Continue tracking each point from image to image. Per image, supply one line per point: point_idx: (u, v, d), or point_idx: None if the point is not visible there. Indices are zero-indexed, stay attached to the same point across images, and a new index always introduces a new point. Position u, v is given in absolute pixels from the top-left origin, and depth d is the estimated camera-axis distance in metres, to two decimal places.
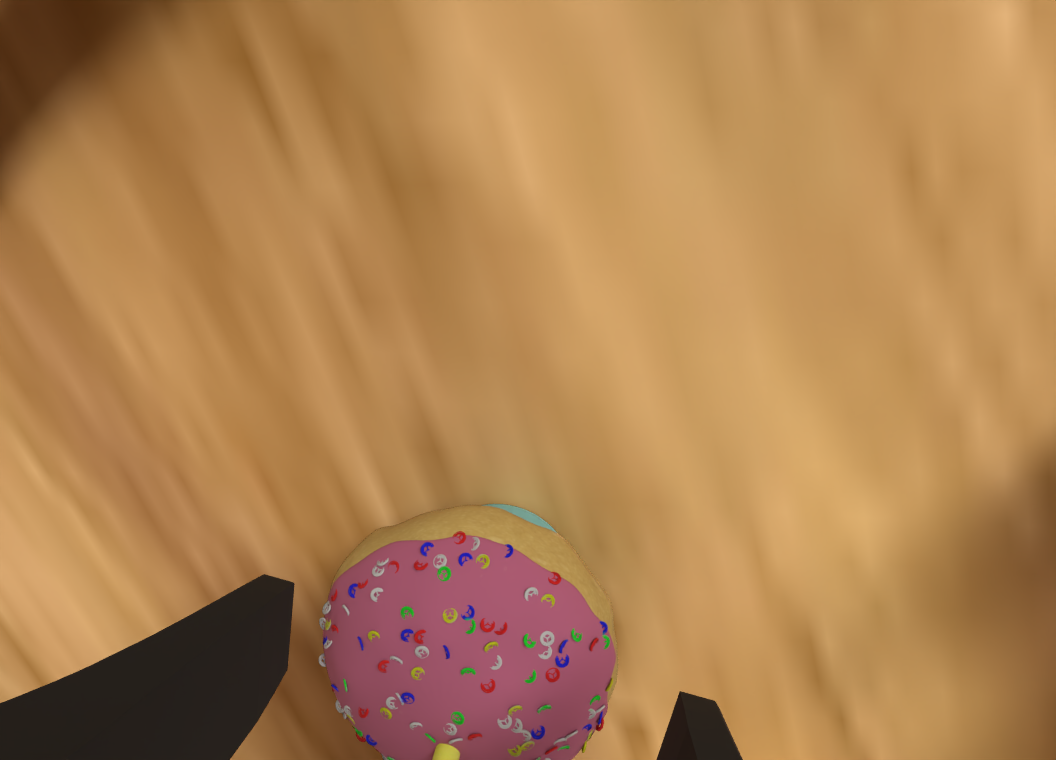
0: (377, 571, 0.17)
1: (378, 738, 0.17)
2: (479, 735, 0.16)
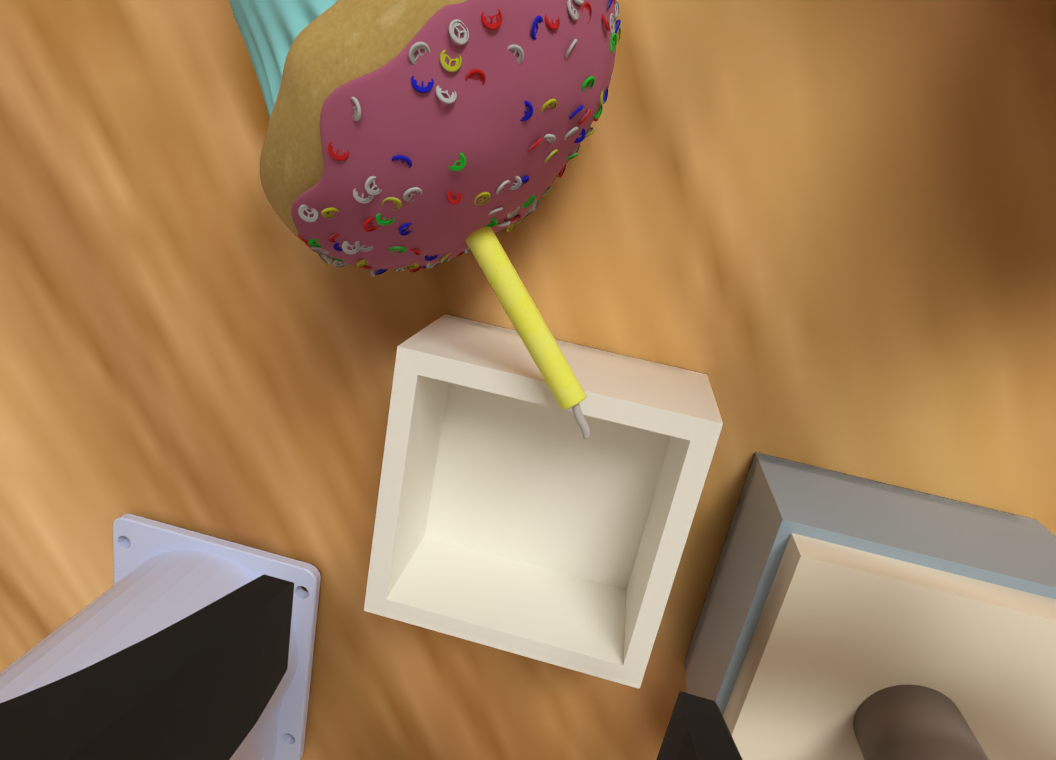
0: (571, 10, 0.11)
1: (426, 226, 0.13)
2: (517, 215, 0.15)
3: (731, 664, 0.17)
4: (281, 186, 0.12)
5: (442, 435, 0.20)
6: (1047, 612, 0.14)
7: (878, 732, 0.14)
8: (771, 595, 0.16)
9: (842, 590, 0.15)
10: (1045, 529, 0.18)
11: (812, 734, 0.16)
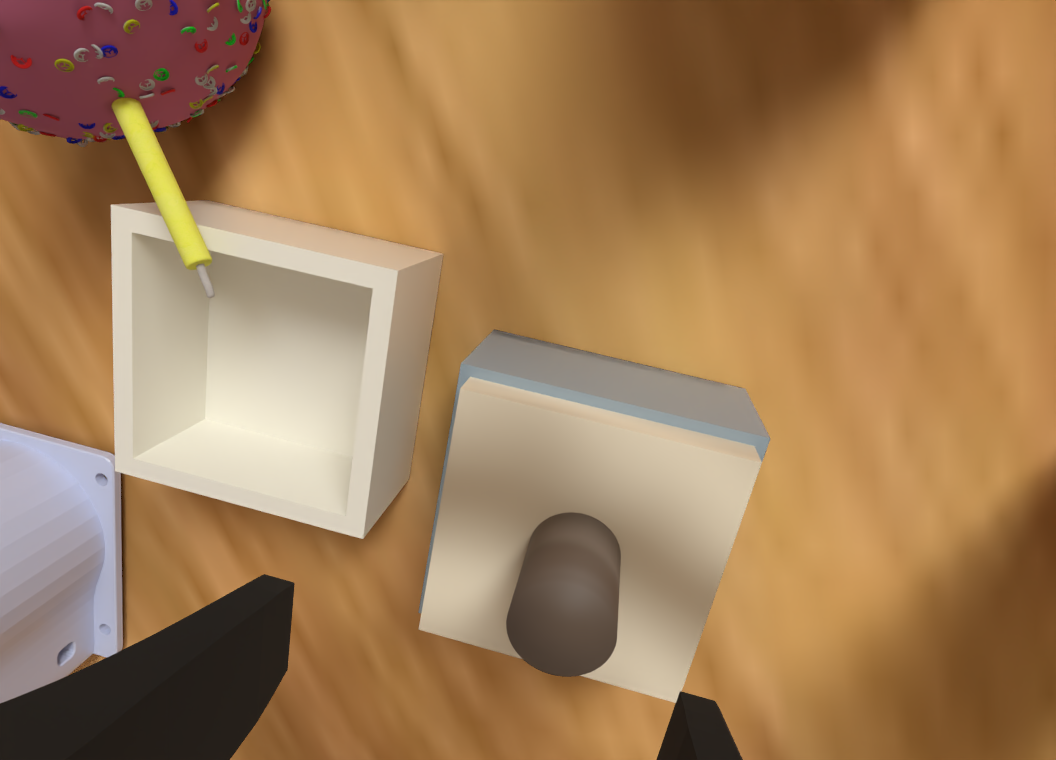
0: None
1: (27, 91, 0.15)
2: (173, 90, 0.16)
3: (438, 510, 0.18)
4: None
5: (210, 317, 0.21)
6: (679, 437, 0.16)
7: (528, 549, 0.16)
8: None
9: (499, 421, 0.16)
10: (745, 394, 0.19)
11: (496, 566, 0.17)
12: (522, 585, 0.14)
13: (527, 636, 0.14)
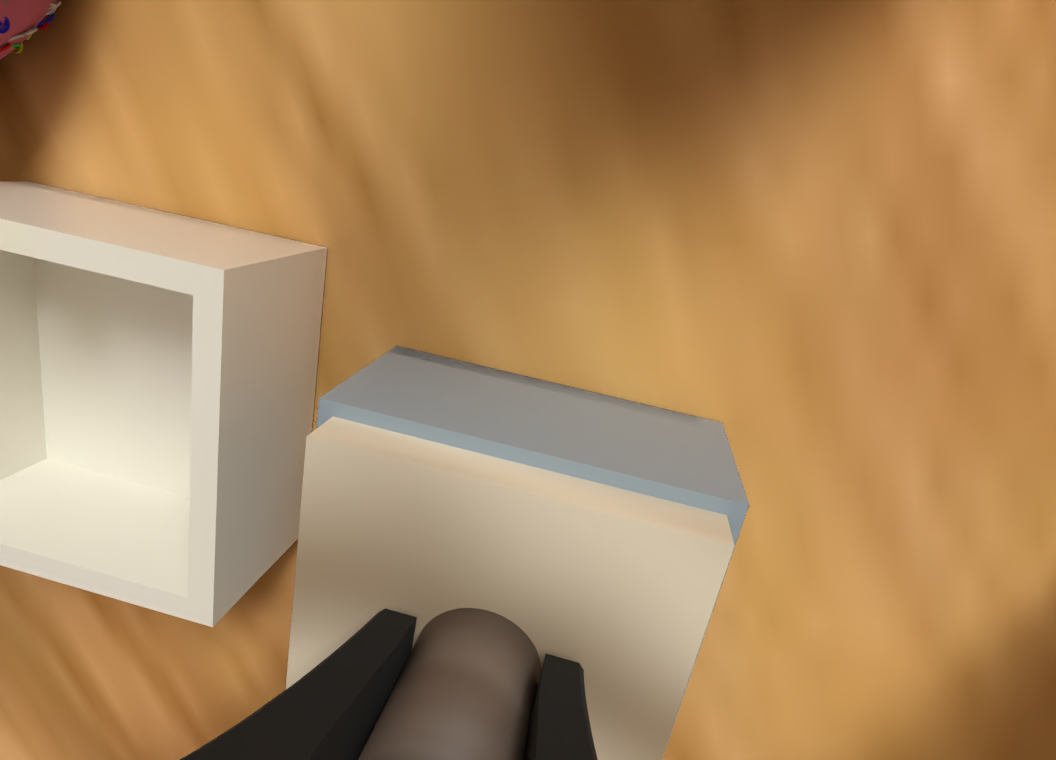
0: None
1: None
2: None
3: None
4: None
5: (40, 331, 0.17)
6: (617, 506, 0.11)
7: (404, 666, 0.11)
8: None
9: (363, 483, 0.11)
10: (721, 430, 0.14)
11: None
12: (370, 741, 0.09)
13: None
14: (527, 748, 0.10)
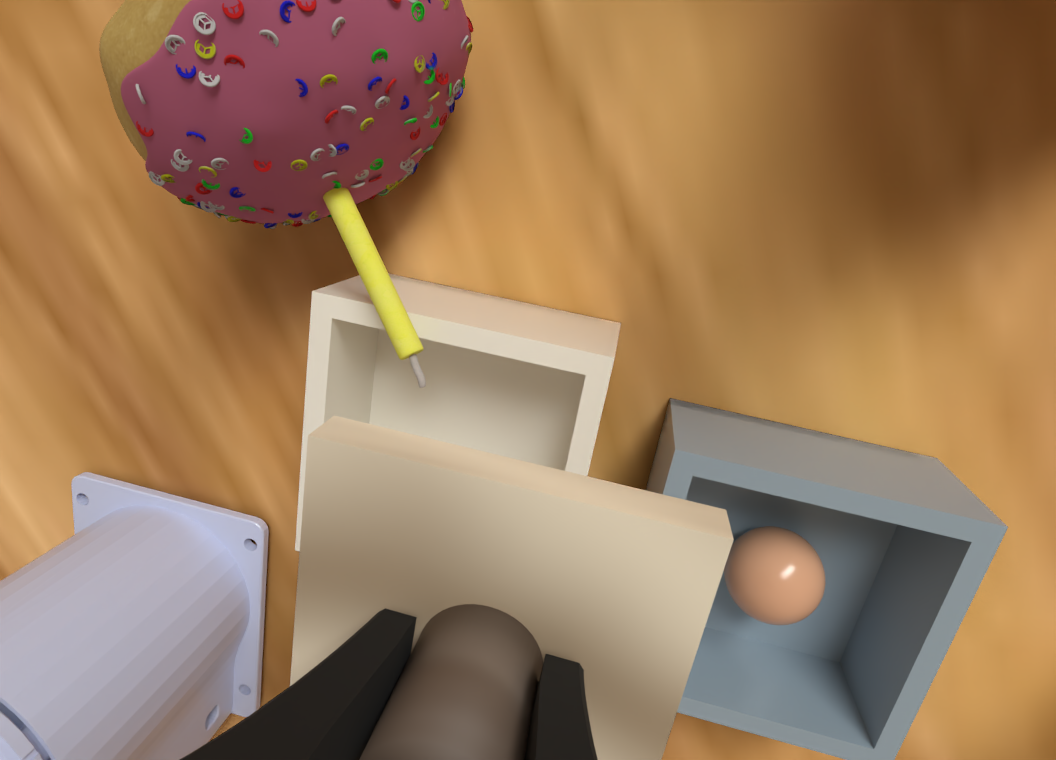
0: None
1: (256, 190, 0.14)
2: (379, 176, 0.16)
3: None
4: (141, 154, 0.14)
5: (374, 387, 0.21)
6: (617, 502, 0.11)
7: (407, 662, 0.11)
8: None
9: (365, 480, 0.11)
10: (942, 465, 0.19)
11: None
12: (374, 736, 0.09)
13: None
14: (527, 748, 0.10)
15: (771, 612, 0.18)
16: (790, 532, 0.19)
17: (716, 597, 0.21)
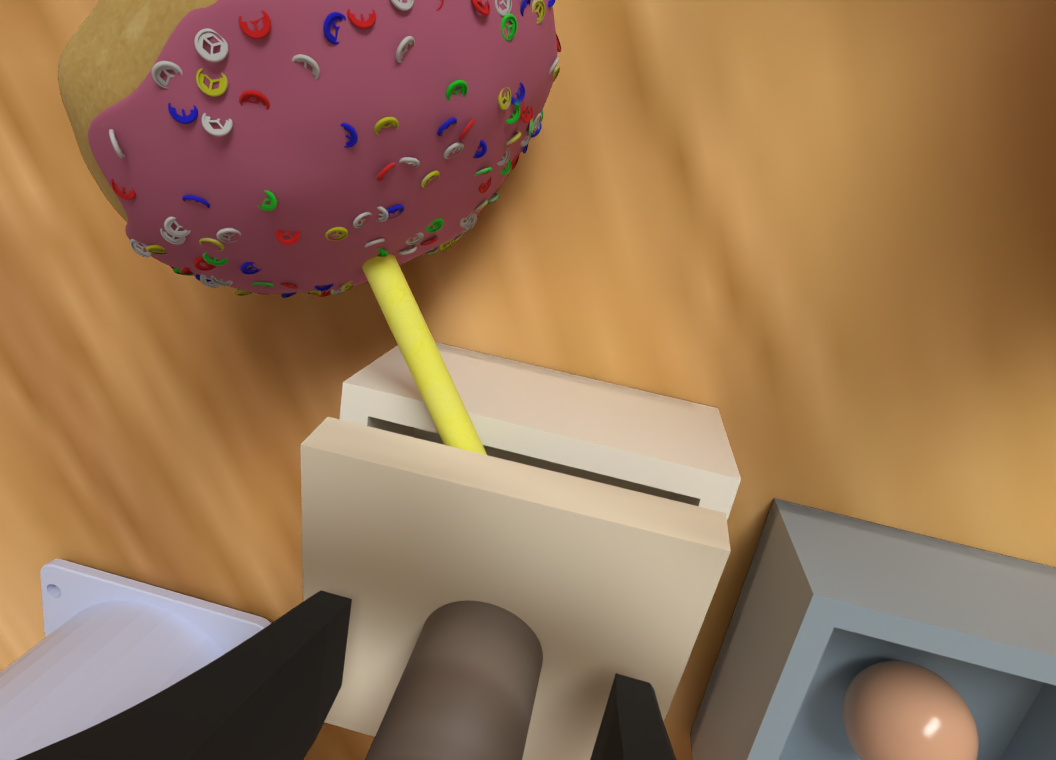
0: None
1: (276, 265, 0.11)
2: (434, 237, 0.12)
3: None
4: None
5: None
6: (613, 510, 0.11)
7: (410, 658, 0.11)
8: None
9: (360, 487, 0.11)
10: None
11: (385, 656, 0.13)
12: (376, 742, 0.10)
13: None
14: None
15: None
16: (931, 674, 0.15)
17: (820, 733, 0.17)
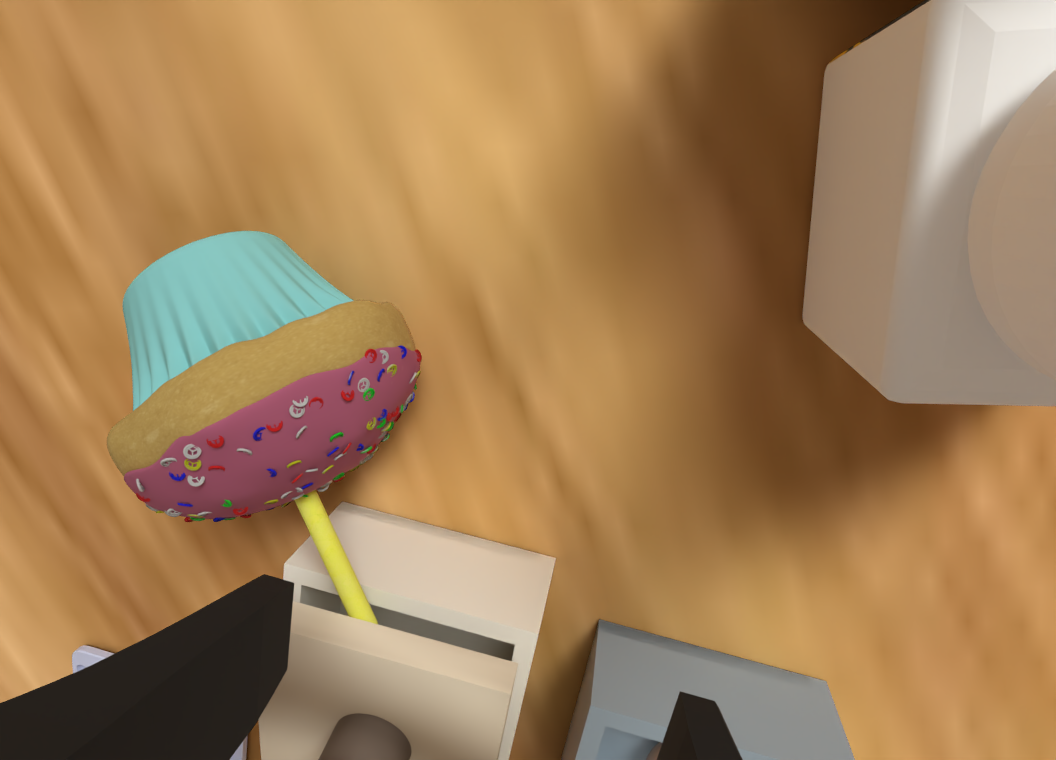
0: (295, 411, 0.15)
1: (235, 515, 0.17)
2: (342, 475, 0.19)
3: None
4: None
5: None
6: (443, 665, 0.17)
7: (322, 752, 0.18)
8: None
9: (289, 647, 0.18)
10: (828, 693, 0.22)
11: (313, 743, 0.20)
12: None
13: None
14: None
15: None
16: None
17: None
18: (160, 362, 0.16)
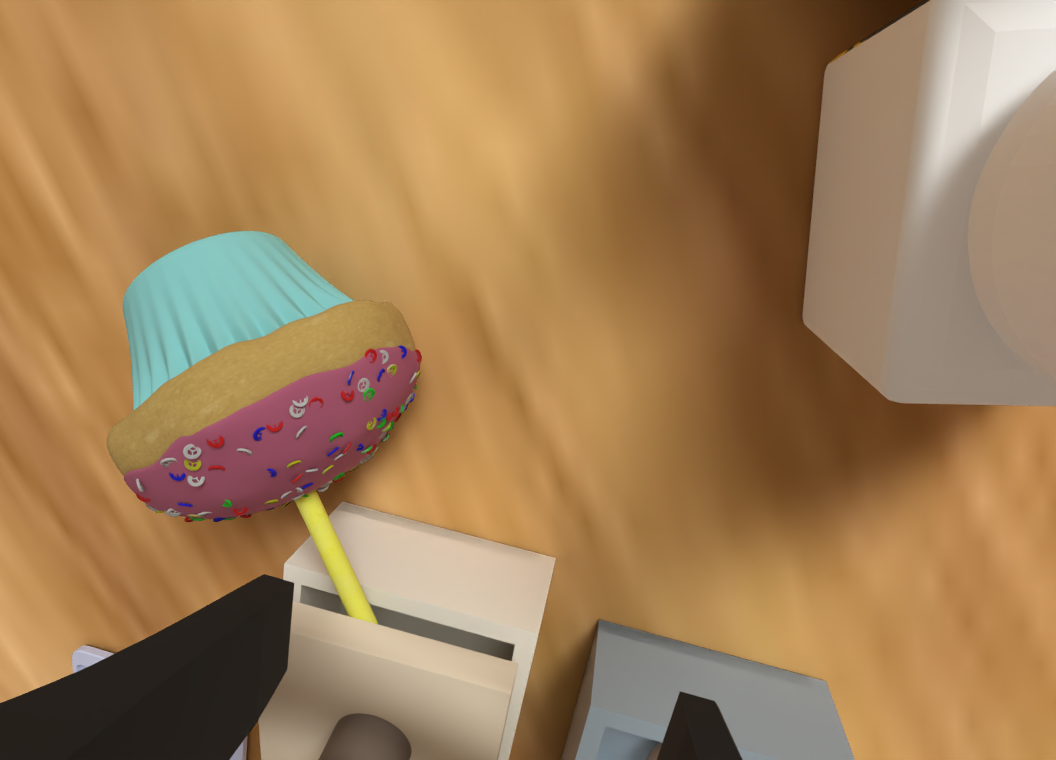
0: (295, 411, 0.15)
1: (235, 515, 0.17)
2: (342, 475, 0.19)
3: None
4: None
5: None
6: (443, 665, 0.17)
7: (322, 752, 0.18)
8: None
9: (289, 647, 0.18)
10: (828, 693, 0.22)
11: (313, 743, 0.20)
12: None
13: None
14: None
15: None
16: None
17: None
18: (160, 362, 0.16)
